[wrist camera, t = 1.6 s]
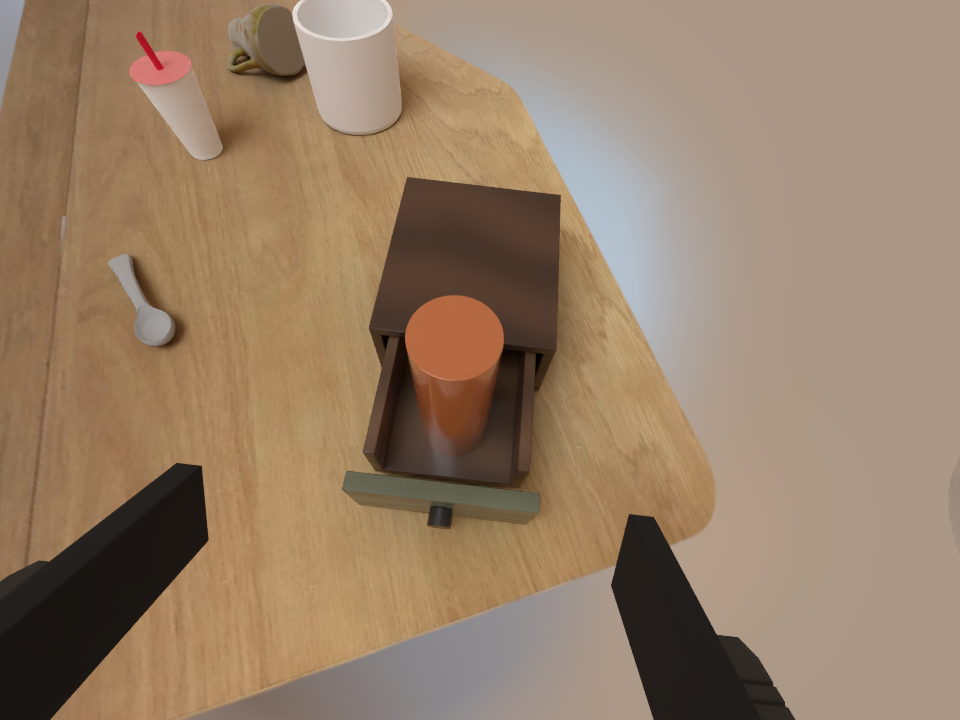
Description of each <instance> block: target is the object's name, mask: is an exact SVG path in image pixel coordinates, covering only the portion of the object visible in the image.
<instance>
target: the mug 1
mask: <svg viewBox="0 0 960 720" xmlns="http://www.w3.org/2000/svg"><path fill="white" fill-rule="evenodd" d="M229 38H230V41H231V43H232V44H233V46H234V47H235V49H236V51H235V52H233V53H232V54H231V55H230V57H229V58H228V61H227V68H228V69H229V70H231V71H233V72H236V73H239V72H244V71H247V70H249V69H254V68H263V69H264V70H266V71H268V72H270V73H272V74H275V75H279V76H287V75H295V74H297V73H298V72H299V71H300V70H301V69H302V67H303V66H304V63H305V61H304V58H303V54H302V50H301V47H300V43H299V40H298V36H297V33H296V29H295V26H294V22H293V16H292V13H291V12H290V11H289V10H288V9H286V8H284V7H282V6H279V5H276V4H262V5H259V6H257V7H255V8H254V9H252V10H251V11H250V12H249V13H248V14H247V15H246V17H245V18H236V19H234V20H233V21H232V22H231V23H230V26H229ZM245 55H248V56H250V57H251V59H250V60H249V61H246V62H244V63H242V64H240V65H237V66H234V64H235V62H236V60H237V58H239V57H240V56H245Z"/></svg>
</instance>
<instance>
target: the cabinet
mask: <svg viewBox="0 0 960 720" xmlns="http://www.w3.org/2000/svg"><path fill="white" fill-rule="evenodd" d="M560 202H561V195H555V194H546V193H538V192H529V191H521V190H512V189H504V188H495V187H487V186H478V185H470V184H461V183H453V182H445V181H436V180H428V179H419V178H411V177H407V180H406V184H405V188H404V191H403V195H402V199H401V203H400V207H399V211H398V215H397V219H396V223H395V227H394V231H393V235H392V239H391V243H390V247H389V251H388V254H387V258H386V262H385V266H384V270H383V274H382V278H381V282H380V286H379V290H378V294H377V298H376V302H375V306H374V310H373V313H372V317H371V321H370V325H369V330H370V333H371V336H372V339H373V342H374V345H375V348H376V351H377V354H378V357H379V360H380V363H381V367H382V365H383V361H384V357H385V352H386V348H387V344H388V339H389V336H397V337H405V333H406V328H407V325H408V323H409V320H410V319H411V317H412V316H413V314H414V313H415V312H416V311H417V310H418V309H419V308H420V307H421V306H422V305H424V304H425V303H427V302H429V301H431V300H433V299H436V298H439V297H442V296H449V295H459V296H466V297H470V298H473V299H476V300H478V301H480V302H482V303H483V304H485V305H486V306H488V307H489V308H490V309H491V310H492V311H493V312H494V313H495V314H496V316H497V317H498V319H499V320H500V323H501V325H502V328H503V332H504V345H503V349H507V350H516V351H524V352H533V353H536V361H535V380H534V390H535V391H538V390H539V388H540V385H541V383H542V381H543V379H544V376H545V374H546V372H547V369H548V367H549V365H550V363H551V360H552V358H553V356H554V354H555V352H556V342H557V307H558V272H559V237H560Z"/></svg>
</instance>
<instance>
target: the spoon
mask: <svg viewBox="0 0 960 720" xmlns="http://www.w3.org/2000/svg"><path fill="white" fill-rule="evenodd" d="M108 264H109V266H110V268H111V269H112V270H113V271H114V272H115V273H116V275H117V277H118V278H119V280H120V282H121V284H122V286H123V288H124V289H125V291H126V292H127V294H128V296H129V297H130V299H131V300H132V302H133V304H134V306H135V308H136V311H137V318H136V321H135V325H134V331H135V334H136V336H137V337H138V339H139V340H140V341H141V342H143V343H144V344H146V345H149V346H161V345H164V344H166V343H168V342H169V341H170V340H171V339H172V337H173V336H174V333H175V323H174V321H173V319H172V318H171V316H170V315H169V314H167V313H166V312H164V311H162V310H159V309H156V308H153V307H152V306H151V305H150V304H149V303H148V301H147V300H146V298H145V296H144V294H143V292H142V290H141V288H140V286H139V284H138V281H137V279H136V277H135V273H134V267H133V260H132V258H131V256H130V255H129V254H122V255H119V256H117V257H115V258H113V259H111V260H110V261H109V262H108Z"/></svg>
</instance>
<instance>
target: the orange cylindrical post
mask: <svg viewBox="0 0 960 720" xmlns="http://www.w3.org/2000/svg"><path fill="white" fill-rule="evenodd" d="M405 343H406V349H407V354H408V359H409V365H410V370H411V375H412V380H413V385H414V391H415V396H416V401H417V406H418V411H419V416H420V422H421V427H422V432H423V436H424V438H425V440H426V442H427V443H428V445H429V446H430V447H431V448H432V449H433V450H435V451H436V452H438V453H440V454H443V455H446V456H462V455H465V454H467V453H469V452H471V451H473V450H474V449H475V448H476V447H477V446H478V445H479V444H480V443H481V441H482V439H483V437H484V434H485V431H486V426H487V421H488V416H489V412H490V407H491V402H492V397H493V393H494V388H495V383H496V379H497V374H498V369H499V364H500V360H501V355H502V350H503V345H504V332H503V328H502V325H501V323H500V320H499V319H498V317H497V316H496V314H495V313H494V312H493V311H492V310H491V309H490V308H489V307H488V306H486V305H485V304H483V303H482V302H480V301H478V300H476V299H473V298H470V297H466V296H459V295H449V296H442V297H439V298H436V299H433V300H431V301H429V302H427V303H425V304H424V305H422V306H421V307H420V308H419V309H418V310H417V311H416V312H415V313H414V314H413V316H412V317H411V319H410V320H409V323H408V325H407V328H406V333H405Z"/></svg>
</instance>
